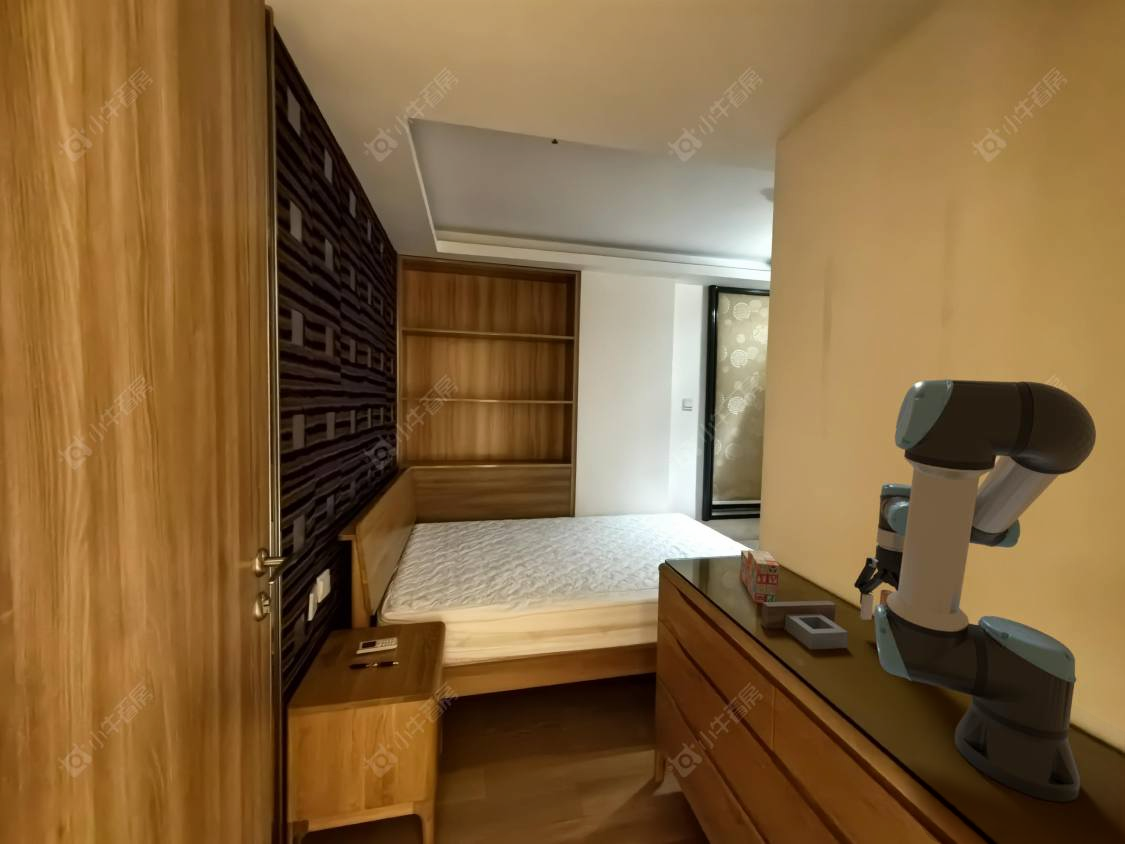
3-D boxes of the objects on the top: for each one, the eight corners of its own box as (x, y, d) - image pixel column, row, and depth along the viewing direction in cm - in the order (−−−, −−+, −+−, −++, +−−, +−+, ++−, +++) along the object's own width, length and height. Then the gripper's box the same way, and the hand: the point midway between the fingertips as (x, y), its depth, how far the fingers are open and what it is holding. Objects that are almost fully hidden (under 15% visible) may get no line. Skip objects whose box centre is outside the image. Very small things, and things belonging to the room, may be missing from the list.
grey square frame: (846, 647, 116) (848, 632, 115) (810, 649, 114) (811, 633, 114) (818, 627, 125) (819, 613, 125) (784, 629, 124) (785, 614, 124)
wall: (834, 626, 127) (835, 604, 126) (766, 628, 124) (768, 606, 123) (827, 621, 129) (829, 600, 129) (761, 624, 126) (762, 602, 126)
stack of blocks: (739, 576, 161) (741, 540, 160) (758, 578, 160) (761, 542, 159) (754, 603, 140) (757, 562, 139) (776, 605, 139) (779, 564, 138)
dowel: (894, 654, 114) (899, 598, 113) (875, 648, 116) (879, 593, 115) (896, 648, 117) (901, 593, 116) (877, 642, 119) (881, 588, 118)
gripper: (958, 565, 103) (949, 659, 104) (867, 532, 128) (861, 608, 129) (928, 565, 102) (920, 660, 103) (843, 532, 126) (836, 609, 128)
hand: (887, 631), depth 116 cm, fingers open, 13 cm apart
